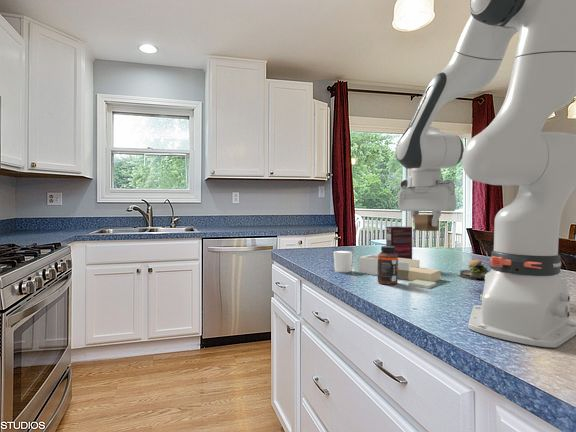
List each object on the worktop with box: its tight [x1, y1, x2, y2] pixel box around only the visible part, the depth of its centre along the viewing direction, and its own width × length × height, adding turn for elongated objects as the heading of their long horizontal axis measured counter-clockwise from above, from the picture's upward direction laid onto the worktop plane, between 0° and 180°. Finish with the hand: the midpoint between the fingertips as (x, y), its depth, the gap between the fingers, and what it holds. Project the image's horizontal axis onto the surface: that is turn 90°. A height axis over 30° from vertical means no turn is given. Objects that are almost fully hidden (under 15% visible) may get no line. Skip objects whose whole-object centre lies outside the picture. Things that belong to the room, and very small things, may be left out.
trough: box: [358, 254, 442, 283], centre depth 119 cm, size 9×25×6 cm, turn 47°
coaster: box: [407, 280, 437, 289], centre depth 105 cm, size 6×6×1 cm
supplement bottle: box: [377, 245, 399, 286], centre depth 107 cm, size 6×6×11 cm
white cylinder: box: [332, 250, 353, 273], centre depth 127 cm, size 7×7×7 cm
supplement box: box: [385, 226, 413, 259], centre depth 133 cm, size 9×5×16 cm, turn 99°
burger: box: [459, 255, 490, 281], centre depth 117 cm, size 12×12×8 cm
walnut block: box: [414, 213, 440, 232], centre depth 110 cm, size 5×5×5 cm
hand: (425, 225), depth 110 cm, fingers closed on walnut block, 5 cm apart
